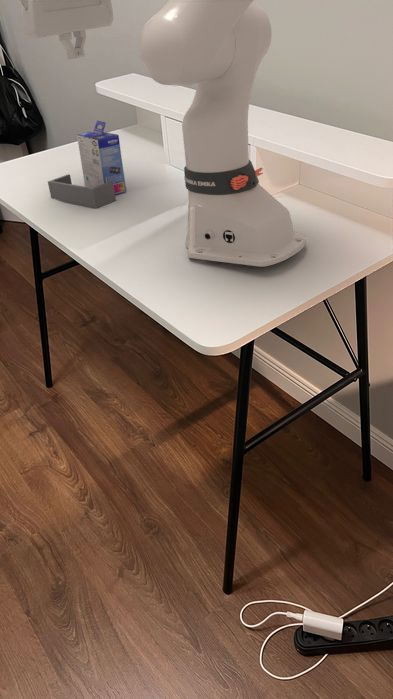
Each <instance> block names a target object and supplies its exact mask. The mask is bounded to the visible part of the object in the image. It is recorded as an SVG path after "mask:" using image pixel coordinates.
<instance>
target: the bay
mask: <svg viewBox="0 0 393 699" xmlns="http://www.w3.org/2000/svg"><path fill="white" fill-rule="evenodd" d="M47 184H48V189H49V193H50V198H52V199H54V200H57V201H60V202H62V203H66V204H71V205H77V206H81V207H85V208H91V209H98V208H101V207H103V206H105V205H108V204H110V203H113V202H115V201H116V199H117V198H116V195H115V191H114V185H113V181H109V182H107V183H104V184H102V185H99V186H96V187H94V188H90V187H85V185H78V184H72V177H71V174H69V173H67V174H66V175H62V176H60V177H57V178H54V179H51V180H48V181H47Z"/></svg>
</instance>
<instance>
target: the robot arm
mask: <svg viewBox="0 0 393 699" xmlns="http://www.w3.org/2000/svg"><path fill="white" fill-rule="evenodd" d="M112 4H113V3H112V0H20V9H21V18H22V19H21V20H22V26H23V31H24V34H25V35H26V36H27V38H29V39H42V38H47V37H53V36H58V39H59V42H60V43H61V44H62V46H63V47H64V49H65V50H66V55H67V59H69V60H75V59H80V58H81V59H82V58H84V57H85V50H84V47H85V43H86V38H87V33H86V31H88V30H89V31H90V30H95V29H98V28H99V29H100V28H105V27H110V26H112V24H113V21H114V11H113V5H112ZM72 35H73V38H75V42H74V45H73V43H72V41H71V40H72V39H73V38H72ZM138 41H139V42H138V43H139V44H138V46H139V47H138V49H139V51H138V52H139V56H140V60H141V64H142V65H143V68H144V70H145V71H146V73H147V75H148V77H150V78H151V79H152V80H153V81H155V82H156V83H158V84H160V85H164V86H175V87H176V86H179V87H181V86H182V87H187V86H192V85H195V84H196V90H195V93H194V97H193V100H192V101H191V102H192V103H191V104H190V106H189V107H188V109H187V111H185V114H184V116H183V118H182V123H181V127H182V128H181V129H182V130H181V131H182V138H183V139H182V140H183V149H184V159H185V166H184V167H183V169H184V170H183V174H184V183H185V189H186V190H187V193H188V194H187V195H188V197H187V199H188V206H187V207H188V212H187V214H188V216H187V229H186V230H187V231H186V236H185V241H184V244H185V247H186V249H187V256H188V257H189V258H190V259H194V260H195V259H196V260H203V261H212V262H219V263H220V262H221V263H227V264H228V263H229V264H235V265H242V266H243V265H245V266H253V267H268V266H273V265H276V264H279V263H282V262H284V261H285V260H287V259H289V258H291V257H293V256H295V255H296V254H297V253H299V252H300V251H301V250H302V249H303V248H304V247H305V246H306V243H307V240H306V239H307V238H306V235H305V234H302V233H299V232H296V231H294V228H293V222H292V217H291V214H290V211H289V209H288V208H287V207H286V206H285V205H283V203H281V202H280V201H279V200H278V199H276V198H275V197H274V196H273V195H272V194H271V193H270V192H268V190H267V189H266V188H264V187H263V186H261V185H260V183H259V181H260V180H259V176H261V175H263V173H264V172H261V171H262V170H264V168H263V167H259V168H258V169H255V168H254V165H253V163H252V161H251V160H250V156H249V154H250V153H249V152H250V151H249V122H248V121H249V108H250V101H251V96H252V91H253V88H254V84H255V78H256V75H257V73H258V69H259V67H260V64H261V62H262V61H263V59H264V57H265V55H266V54H267V53H268V51H269V49H270V46H271V43H272V42H271V41H272V26H271V22H270V19H269V16H268V14H267V13H266V10H265V9H263V7H262V6H261V5H259V4H257V3H256V2H255V0H167V2H166V3H165V4H164V5H163V6H162V7H161V9H159V10H158V11H157V12H156V13H155V14H154V15H153V16H151V18H149V19H148V20H147V21H146V22H145V24H144V25H143V27H142V28H141V31H140V36H139V40H138Z"/></svg>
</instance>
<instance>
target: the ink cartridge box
mask: <svg viewBox="0 0 393 699" xmlns="http://www.w3.org/2000/svg"><path fill="white" fill-rule="evenodd" d="M106 124H107V122H105V121H100V120H96V122H95V125H94V129H93V130H92V131H86V132H82V133H78V134H76V137H77V144H78V150H79V156H80V163H81V170H82V174H83V176H82V177H83V182H84V183H83V184H84V187H90V188H94V187H96V186H99V185H102V184H104V183H107V182H109V181H113V185H114V191H115V196H116V195H119V194H123V193H125V194H126V192H127V187H126V181H125V179H126V178H125V171H124V166H123V165H124V164H123V159H122V157H123V156H122V151H121V144H120V136H119V134H116V133H112V132H111V133H110V132H105V127H106ZM98 126H101V128H99V127H98Z"/></svg>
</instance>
